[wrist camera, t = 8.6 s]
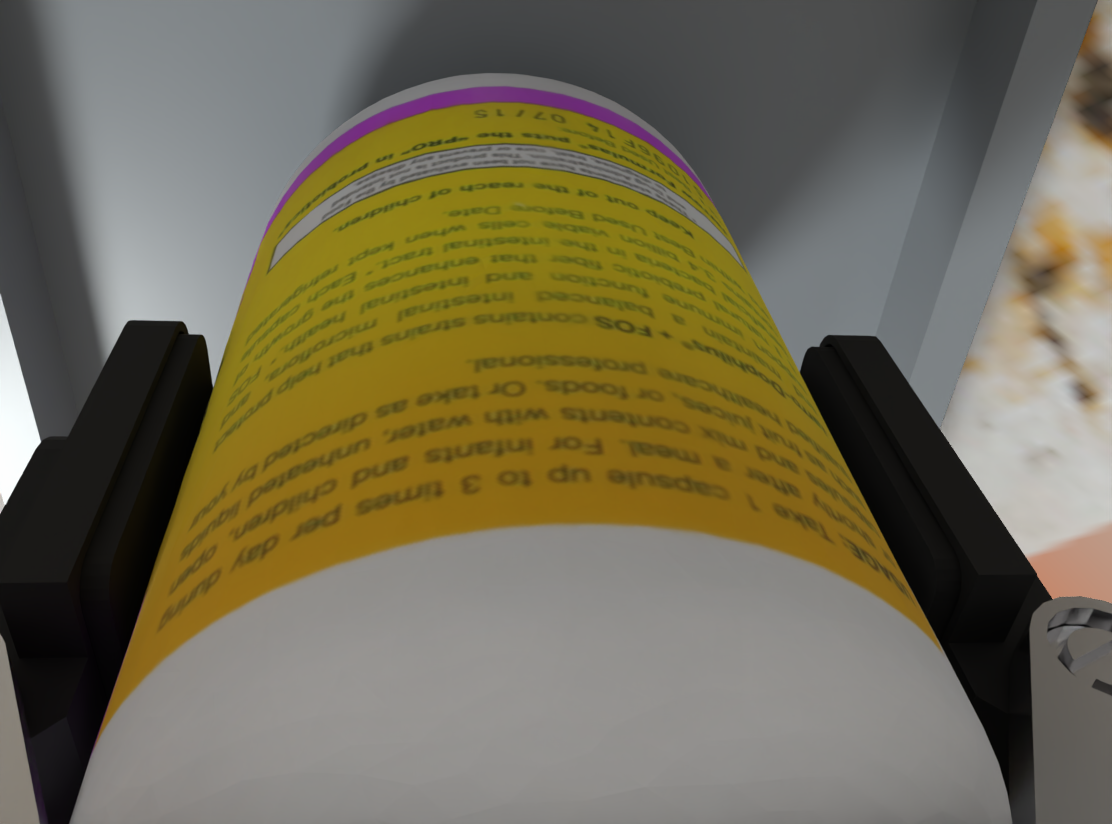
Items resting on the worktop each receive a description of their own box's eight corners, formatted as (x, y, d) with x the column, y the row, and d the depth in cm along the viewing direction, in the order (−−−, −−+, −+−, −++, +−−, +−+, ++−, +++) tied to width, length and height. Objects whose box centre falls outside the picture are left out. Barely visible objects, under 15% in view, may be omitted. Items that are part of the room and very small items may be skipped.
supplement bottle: (180, 134, 13) (-916, 1922, 3) (678, -6, 12) (1826, 1481, 2) (361, 506, 17) (221, 1812, 6) (746, 410, 16) (1264, 1650, 6)
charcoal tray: (1081, -279, 13) (1198, -275, 11) (819, 560, 22) (858, 649, 20) (-156, -401, 11) (-287, -422, 9) (94, 566, 20) (55, 664, 18)
